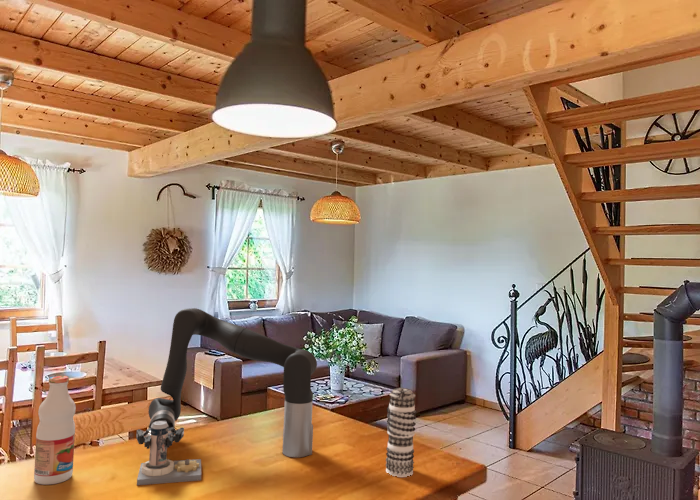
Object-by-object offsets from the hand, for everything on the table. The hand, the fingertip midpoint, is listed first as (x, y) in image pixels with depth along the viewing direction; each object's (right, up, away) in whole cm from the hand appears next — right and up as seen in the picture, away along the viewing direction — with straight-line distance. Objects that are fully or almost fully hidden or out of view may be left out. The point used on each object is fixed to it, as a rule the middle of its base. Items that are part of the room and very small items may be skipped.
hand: (158, 444), depth 148 cm
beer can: (-1, -7, +2) cm, 7 cm away
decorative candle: (+70, -13, +12) cm, 72 cm away
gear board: (+2, -10, +3) cm, 11 cm away
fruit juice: (-28, -9, -3) cm, 30 cm away
